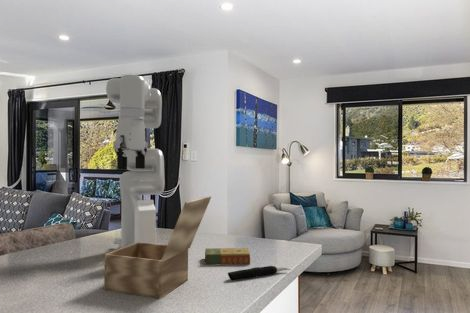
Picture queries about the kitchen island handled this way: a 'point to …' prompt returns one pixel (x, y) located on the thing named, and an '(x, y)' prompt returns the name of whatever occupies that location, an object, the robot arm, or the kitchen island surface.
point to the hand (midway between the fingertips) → (131, 169)
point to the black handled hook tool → (255, 272)
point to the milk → (145, 222)
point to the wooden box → (144, 270)
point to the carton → (227, 256)
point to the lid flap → (186, 227)
